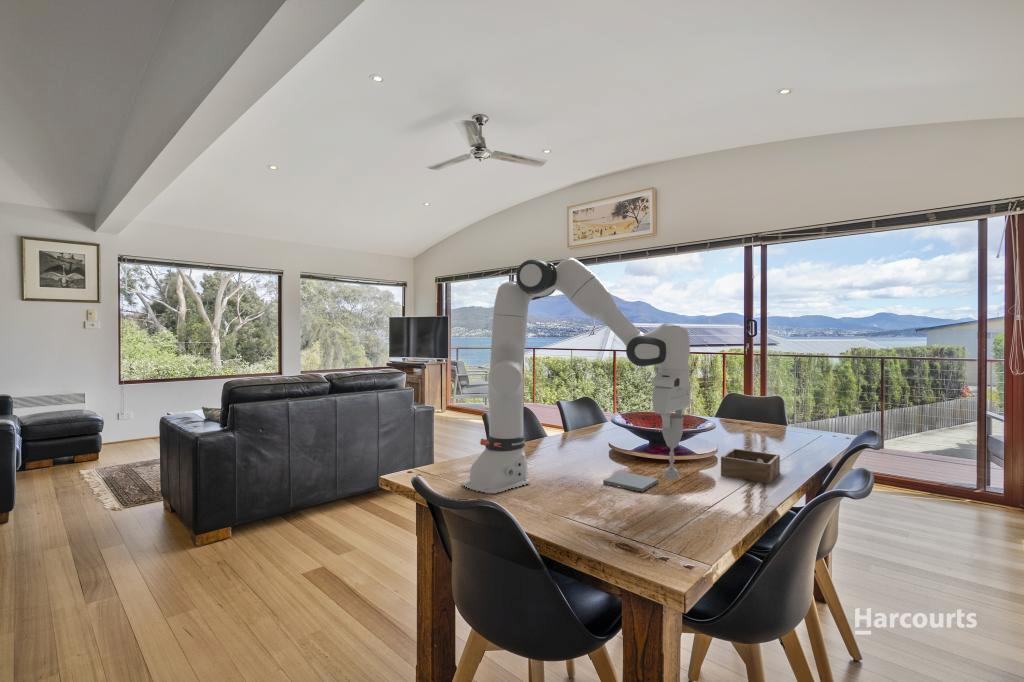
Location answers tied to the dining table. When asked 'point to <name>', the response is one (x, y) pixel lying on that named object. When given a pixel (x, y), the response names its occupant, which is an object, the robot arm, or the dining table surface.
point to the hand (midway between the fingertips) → (672, 425)
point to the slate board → (631, 481)
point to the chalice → (672, 442)
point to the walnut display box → (750, 465)
